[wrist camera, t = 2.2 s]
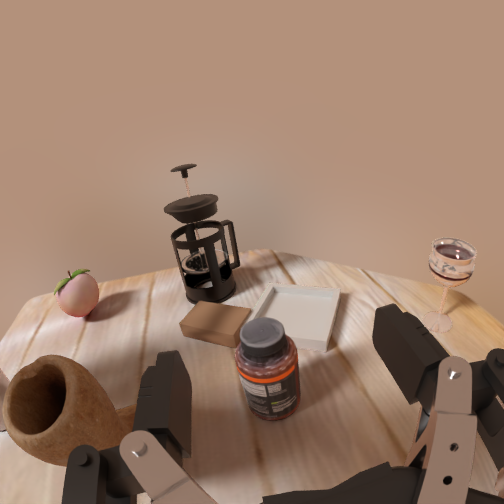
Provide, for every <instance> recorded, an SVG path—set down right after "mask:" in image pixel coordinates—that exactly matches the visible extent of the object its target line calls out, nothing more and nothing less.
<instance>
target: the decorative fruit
mask: <svg viewBox="0 0 504 504" xmlns="http://www.w3.org/2000/svg"><path fill="white" fill-rule="evenodd" d="M87 271H90V270H87V269H79V270H77V271H75V272H74V273H72V274H71V275H70V272H69V271H68V274H69V277H68V278H66V279H63V280H61V281H60V282H59V283H58V284H57V286H56V288H55V291H54V295H55V294H56V298H57V302H58V305H59V306H60V308H61V309H62V310H63V311H64V312H65V313H67V314H68V315H71V316H74V317H83V316H86V315H89V313H90V312H91V311H92V310H93V309H94V307H95V306H96V304H97V302H98V300H99V288H98V285H97V282H96V281H95V279H94V278H93V277H91V276H90V275H89V274H87V273H85V272H87ZM56 292H57V293H56Z"/></svg>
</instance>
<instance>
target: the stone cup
mask: <svg viewBox="0 0 504 504" xmlns="http://www.w3.org/2000/svg"><path fill="white" fill-rule="evenodd" d="M136 405H137V404H134V405H131V406H128V407H126V408H122V409H118V410H115V408H114V406H113V404H112V403H111V401H110V399H109V398H108V396H107V394H106V392H105V391H104V389H103V388H102V387H101V385H100V384H99V383H98V382H97V380H96V379H95V378H94V377H93V376H92V375H91V374H90V373H89V371H88V370H87V369H85V368H84V367H83V366H82V365H80V364H78V363H77V362H75V361H73V360H72V359H69V358H66V357H63V356H59V355H46V356H42V357H40V358H38V359H37V360H36V361H35V362H33V363H31V364H30V365H28V366H25V367H23V368H22V369H21V370H20V371H19V372H18V373H17V374H16V375H15V376H14V377H13V379H12V380H11V382H10V384H9V386H8V388H7V391H6V393H5V397H4V402H3V407H2V414H3V420H4V424H5V427H6V430H7V432H8V434H9V435H10V437H11V438H12V439H13V441H14V442H15V443H16V444H17V445H18V446H19V447H21V448H22V449H23V450H24V451H25V452H27V453H29V454H30V455H32V456H34V457H36V458H38V459H40V460H42V461H45V462H47V463H51V464H54V465H59V466H65V467H67V462H68V457H69V455H70V453H71V451H72V450H73V449H74V448H75V447H77V446H79V445H84V444H86V445H91V446H93V447H94V448H95V449H97V450H98V451H100V450H104V449H107V448H111V447H115V446H118V445H120V444H121V441H122V440H123V438H124V437H125V436H126V435H128V434H129V433H131V432H132V429H133V423H134V417H135V411H136Z"/></svg>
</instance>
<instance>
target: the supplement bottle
mask: <svg viewBox="0 0 504 504" xmlns="http://www.w3.org/2000/svg"><path fill="white" fill-rule="evenodd" d="M240 341H241V342H240V343H239V345H238V346H237V348H236V352H235V362H236V366H237V369H238V373H239V376H240V379H241V383H242V386H243V389H244V393H245V396H246V399H247V402H248V405H249V407H250V409H251V411H252V412H253V413H254V414H255V415H256V416H258V417H259V418H262V419H265V420H279V419H283V418H285V417H287V416H289V415H291V414H292V413H293V412H294V411H295V410H296V408H297V407H298V405H299V402H300V381H299V366H298V353H297V348H296V345H295V343H294V341H293V340H292V339H291V338H290V337H289V336H287V335H286V334H285V329H284V326H283V324H282V323H281V322H279V321H278V320H276V319H274V318H269V317H261V318H256V319H253V320H250V321H249V322H247V323H246V324H245V325H244V326H243V327H242V328H241V331H240Z"/></svg>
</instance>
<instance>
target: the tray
mask: <svg viewBox="0 0 504 504" xmlns="http://www.w3.org/2000/svg"><path fill="white" fill-rule="evenodd" d="M340 297H341V289H339V288H327V287H315V286H303V285H292V284H281V283H271V282H270V283H269V284H268V286H267V287H266V289H265V290H264V292H263V294H262V295H261V297H260V298H259V300H258V301H257V303H256V305H255V306H254V308H253V309H252V311H251V312H250V314H249V316H248V317H247V319H246V320H245V322H244V323H243V325H242V326H241V328H242V327H243V326H244V325H245V324H246V323H247V322H249V321H250V320H253V319H256V318H261V317H269V318H274V319H276V320H278V321H279V322H281V323H282V324H283V326H284V329H285V334H286V335H287V336H289V337H290V338H291V339H292V340H293V341H294V343H295V345H296V348H299V349H306V350H313V351H321V352H326V351H327V348H328V344H329V341H330V337H331V333H332V330H333V326H334V322H335V319H336V315H337V311H338V307H339V303H340ZM241 328H240V330H241Z"/></svg>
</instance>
